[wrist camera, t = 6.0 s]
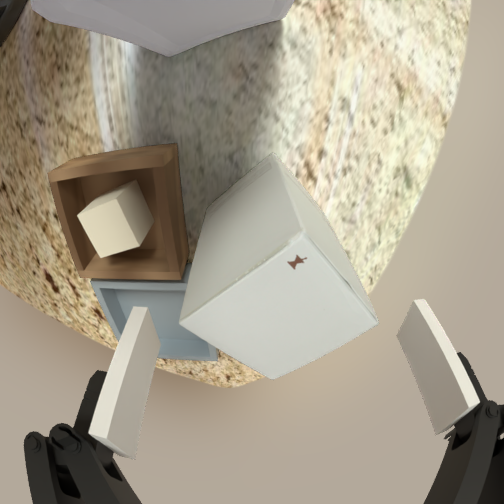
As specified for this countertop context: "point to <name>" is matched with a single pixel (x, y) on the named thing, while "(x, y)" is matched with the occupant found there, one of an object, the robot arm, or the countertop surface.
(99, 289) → the grey tray
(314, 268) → the supplement box
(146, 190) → the walnut box
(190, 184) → the countertop surface
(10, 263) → the countertop surface
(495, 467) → the robot arm
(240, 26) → the soap bottle
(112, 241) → the cream cube
